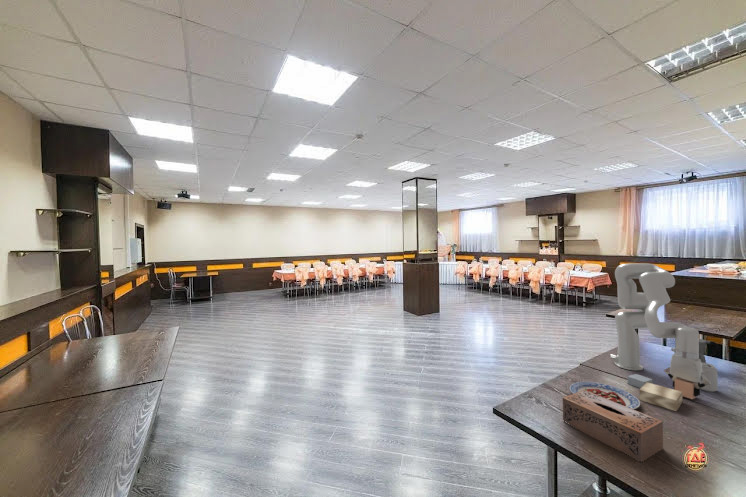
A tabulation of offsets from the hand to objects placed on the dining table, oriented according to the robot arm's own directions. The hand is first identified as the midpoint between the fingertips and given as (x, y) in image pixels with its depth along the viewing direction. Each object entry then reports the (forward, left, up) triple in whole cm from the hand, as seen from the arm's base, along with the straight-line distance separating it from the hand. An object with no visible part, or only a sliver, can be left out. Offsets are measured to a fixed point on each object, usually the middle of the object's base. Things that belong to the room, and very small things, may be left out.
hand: (686, 392), depth 139 cm
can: (+2, +18, -2) cm, 18 cm away
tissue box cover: (-2, -61, -3) cm, 61 cm away
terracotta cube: (0, 0, -1) cm, 1 cm away
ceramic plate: (-17, -34, -2) cm, 39 cm away
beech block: (-4, -15, -2) cm, 15 cm away
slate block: (-15, -4, -2) cm, 16 cm away
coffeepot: (-10, +51, -2) cm, 52 cm away
